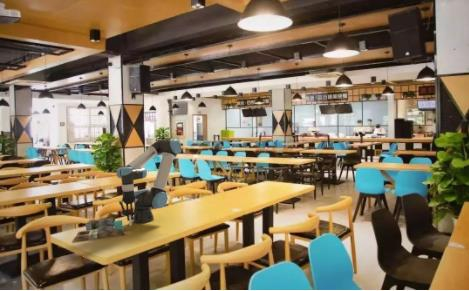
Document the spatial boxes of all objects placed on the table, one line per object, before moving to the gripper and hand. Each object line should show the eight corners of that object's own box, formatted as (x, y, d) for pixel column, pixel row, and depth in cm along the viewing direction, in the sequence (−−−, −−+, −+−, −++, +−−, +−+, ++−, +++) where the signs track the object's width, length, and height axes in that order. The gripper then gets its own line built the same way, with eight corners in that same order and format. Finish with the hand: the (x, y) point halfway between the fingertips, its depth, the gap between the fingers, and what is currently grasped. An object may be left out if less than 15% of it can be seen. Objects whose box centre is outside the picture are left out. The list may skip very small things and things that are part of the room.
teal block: (122, 227, 240) (122, 220, 240) (122, 229, 235) (121, 221, 235) (114, 228, 239) (114, 220, 239) (114, 230, 234) (113, 222, 234)
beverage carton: (85, 231, 248) (84, 222, 247) (109, 224, 263) (109, 215, 262) (91, 232, 243) (91, 223, 242) (116, 225, 258) (115, 216, 258)
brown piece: (124, 230, 244) (123, 217, 244) (124, 235, 233) (123, 221, 232) (78, 235, 236) (77, 222, 236) (76, 241, 225) (74, 227, 224)
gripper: (138, 188, 243) (140, 222, 245) (118, 190, 240) (120, 225, 241) (138, 190, 236) (140, 225, 237) (117, 192, 233) (120, 227, 234)
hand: (130, 225), depth 239 cm, fingers closed
